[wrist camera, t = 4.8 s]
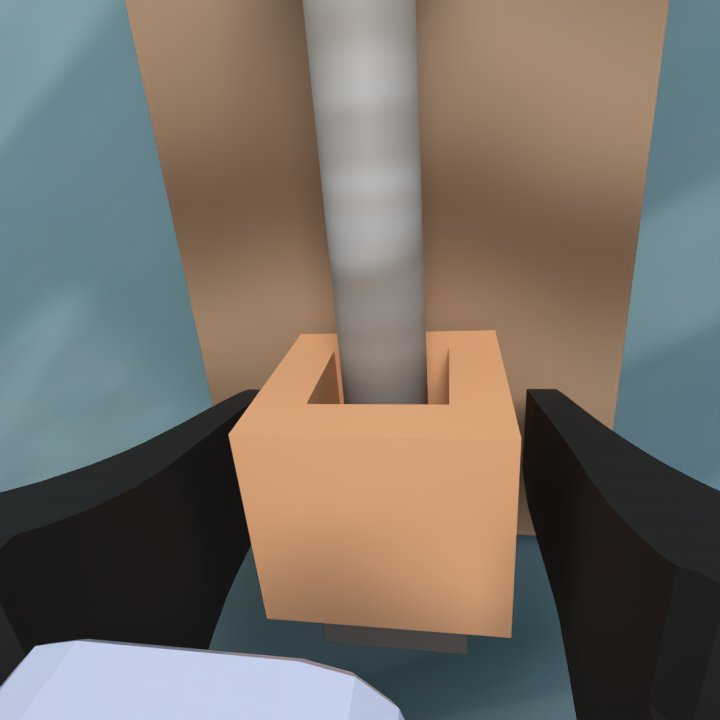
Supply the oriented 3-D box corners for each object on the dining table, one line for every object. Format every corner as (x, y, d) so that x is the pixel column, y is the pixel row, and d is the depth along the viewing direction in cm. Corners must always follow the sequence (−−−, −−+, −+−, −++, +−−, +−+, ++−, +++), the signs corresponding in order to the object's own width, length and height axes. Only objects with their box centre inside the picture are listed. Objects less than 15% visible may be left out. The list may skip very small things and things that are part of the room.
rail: (589, 512, 14) (650, 676, 10) (250, 500, 16) (177, 635, 12) (690, -335, 8) (982, -897, 4) (108, -205, 10) (-168, -479, 5)
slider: (491, 480, 13) (511, 638, 9) (319, 475, 14) (266, 618, 10) (494, 330, 11) (521, 438, 7) (301, 334, 12) (228, 434, 8)
